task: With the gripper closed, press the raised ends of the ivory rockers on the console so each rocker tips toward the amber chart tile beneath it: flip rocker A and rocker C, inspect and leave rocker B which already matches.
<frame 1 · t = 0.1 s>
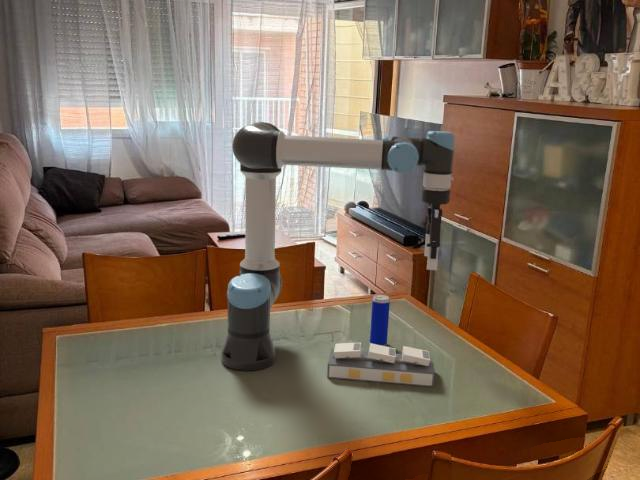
hand: (430, 262, 174), 28 cm above the table, fingers open, 13 cm apart
rocker B: (381, 353, 166), point 6 cm above the table, hinge at 8.0°
switch console: (380, 373, 167), on the table
beverage can: (378, 344, 187), on the table
rocker C: (415, 356, 165), point 6 cm above the table, hinge at 8.0°
rocker A: (347, 350, 167), point 6 cm above the table, hinge at -8.0°
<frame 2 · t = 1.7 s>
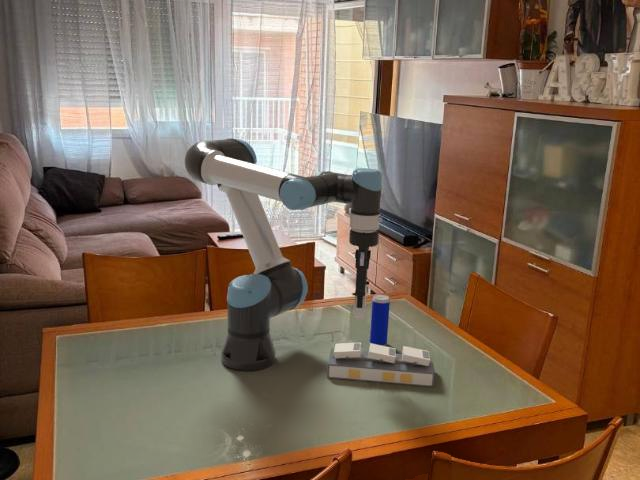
hand: (359, 313, 164), 17 cm above the table, fingers open, 7 cm apart
nothing on the table moved.
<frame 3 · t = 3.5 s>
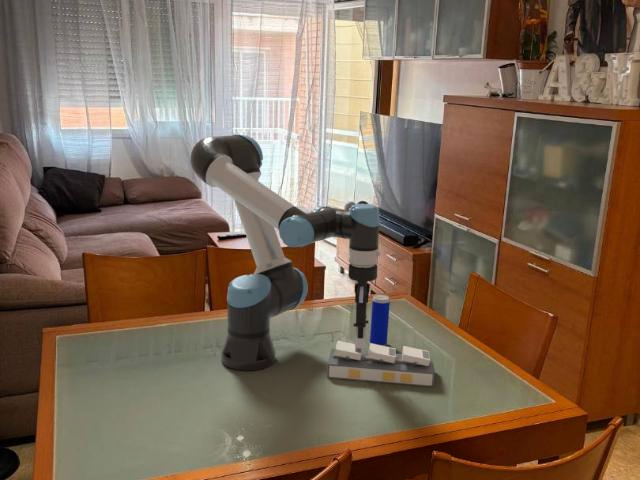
hand: (360, 347, 166), 7 cm above the table, fingers closed
rocker A: (348, 350, 167), point 6 cm above the table, hinge at 7.4°, touching gripper
everything else where it was.
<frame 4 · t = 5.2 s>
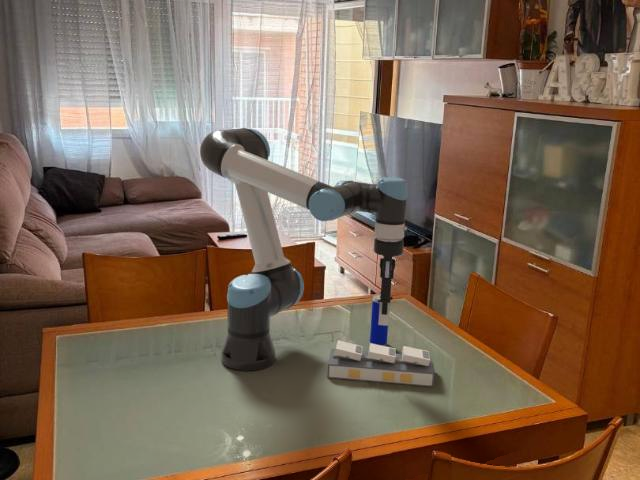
hand: (383, 324, 164), 14 cm above the table, fingers closed
rocker A: (348, 350, 167), point 6 cm above the table, hinge at 9.9°, touching switch console
everything else where it was.
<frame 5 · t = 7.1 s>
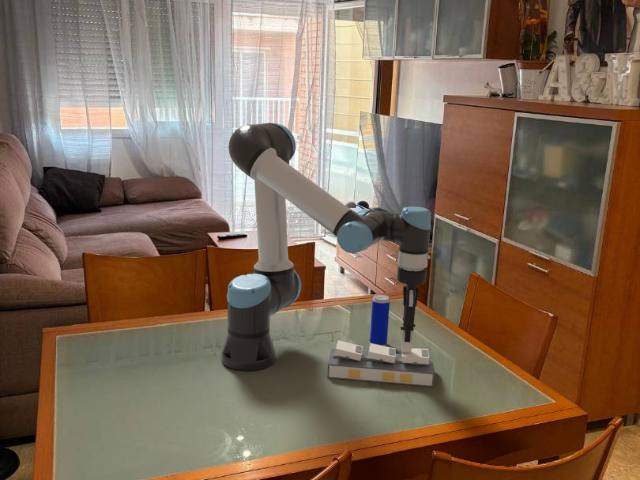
hand: (406, 351, 165), 7 cm above the table, fingers closed
rocker C: (415, 356, 165), point 6 cm above the table, hinge at -1.5°, touching gripper
everything else where it was.
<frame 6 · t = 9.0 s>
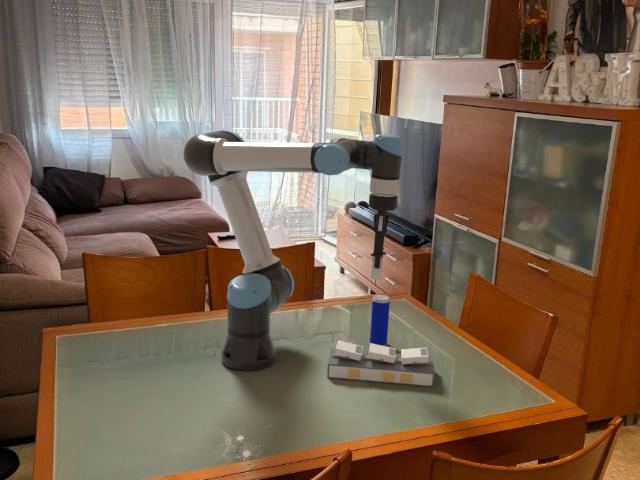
hand: (375, 278, 169), 25 cm above the table, fingers closed
rocker C: (414, 356, 165), point 6 cm above the table, hinge at -9.6°
everything else where it was.
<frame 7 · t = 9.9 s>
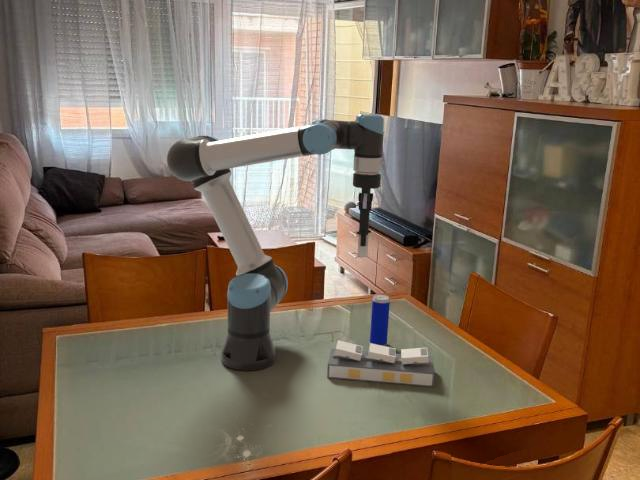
hand: (362, 256, 172), 29 cm above the table, fingers closed
nothing on the table moved.
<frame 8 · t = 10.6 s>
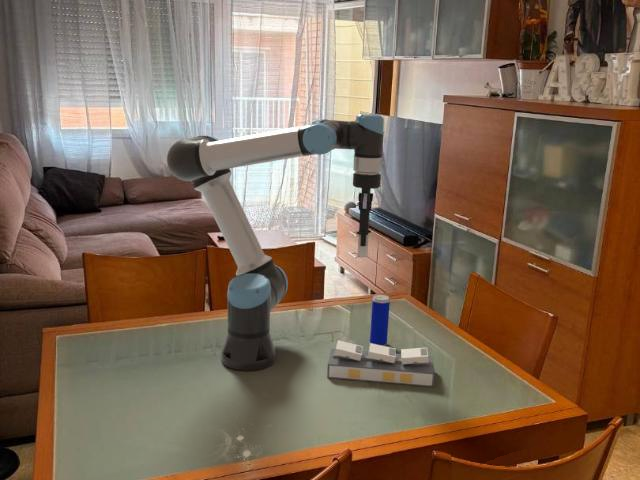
hand: (362, 256, 172), 29 cm above the table, fingers closed
nothing on the table moved.
at the end: rocker A at +10° (first picture: -8°); rocker B at +8° (first picture: +8°); rocker C at -10° (first picture: +8°) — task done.
